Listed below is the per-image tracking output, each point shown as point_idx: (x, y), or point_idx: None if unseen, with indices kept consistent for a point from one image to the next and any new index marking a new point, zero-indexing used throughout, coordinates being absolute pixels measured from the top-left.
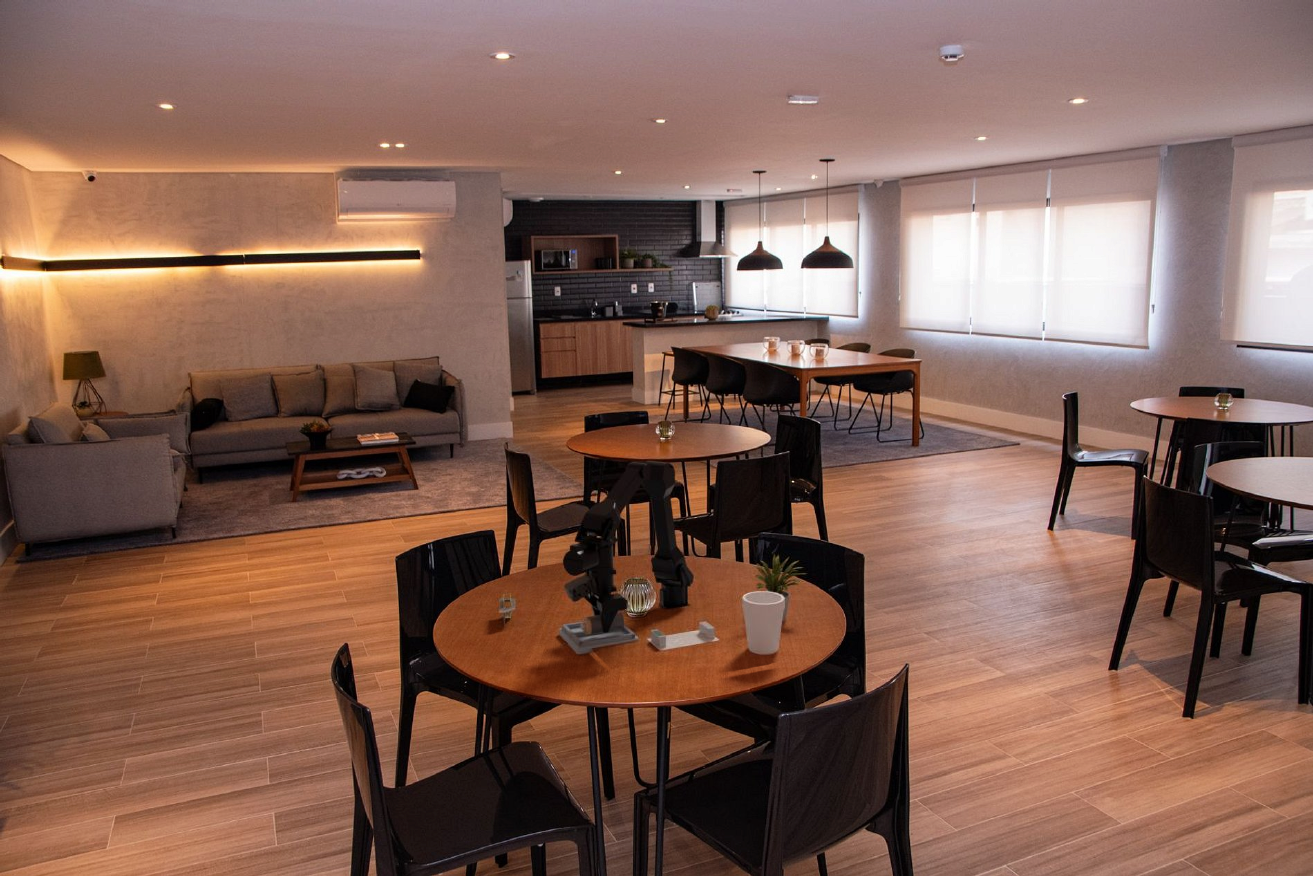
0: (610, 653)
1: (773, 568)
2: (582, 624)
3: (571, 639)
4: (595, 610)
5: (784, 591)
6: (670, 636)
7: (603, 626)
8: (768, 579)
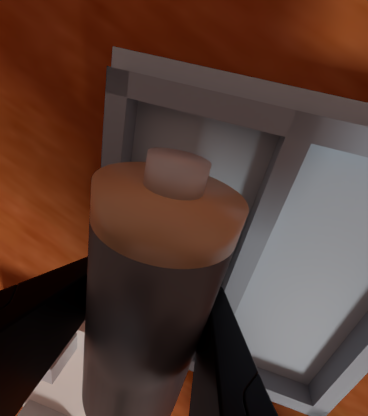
0: (77, 193)
1: None
2: (150, 161)
3: (269, 99)
4: (210, 399)
5: None
6: (82, 377)
7: (70, 266)
8: None
